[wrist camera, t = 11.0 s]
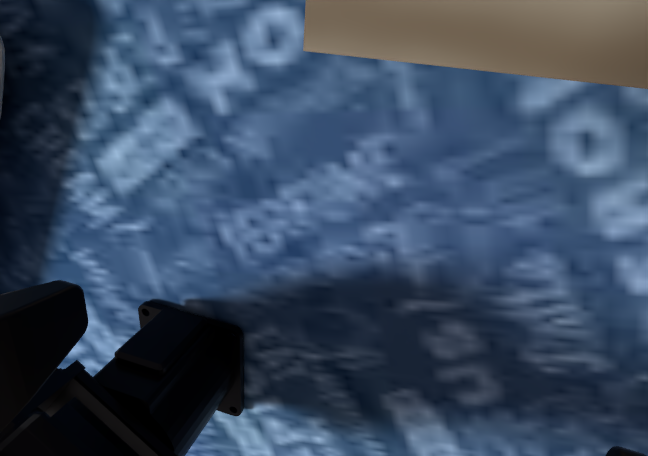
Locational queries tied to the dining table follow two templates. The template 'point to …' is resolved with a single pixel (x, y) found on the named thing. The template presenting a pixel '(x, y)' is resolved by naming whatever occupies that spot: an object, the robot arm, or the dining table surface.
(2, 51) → the square plate
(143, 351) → the robot arm
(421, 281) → the dining table surface
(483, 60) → the brown box
